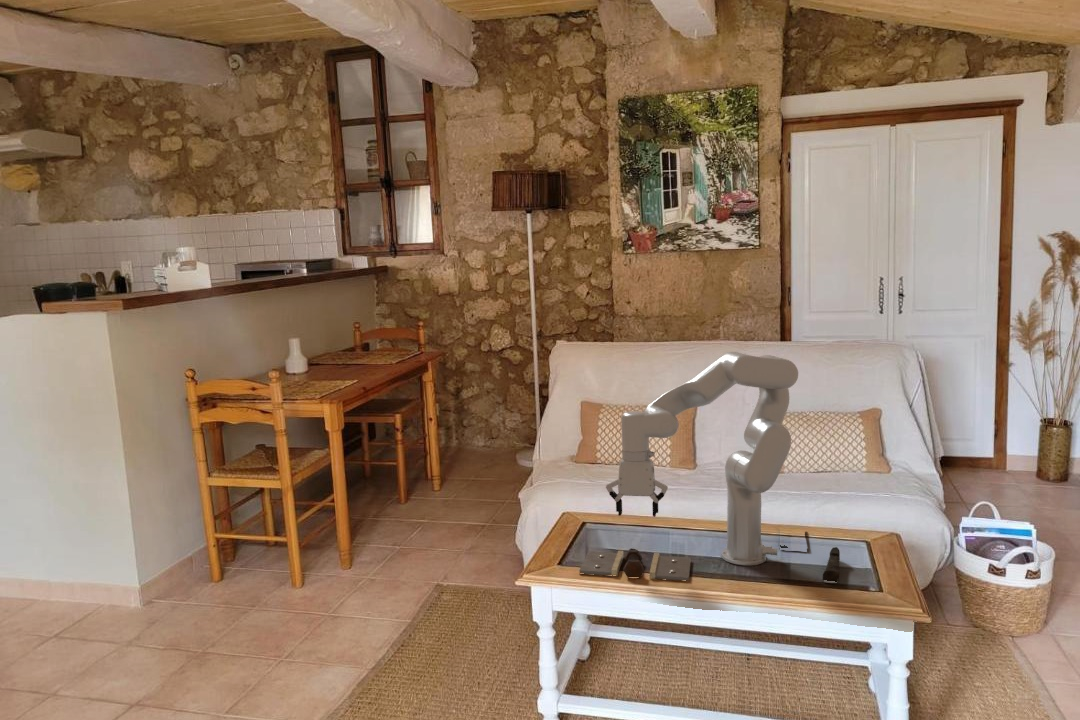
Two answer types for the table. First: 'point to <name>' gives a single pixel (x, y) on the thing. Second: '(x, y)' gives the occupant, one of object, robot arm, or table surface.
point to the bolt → (633, 564)
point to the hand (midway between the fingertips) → (637, 514)
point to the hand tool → (832, 566)
